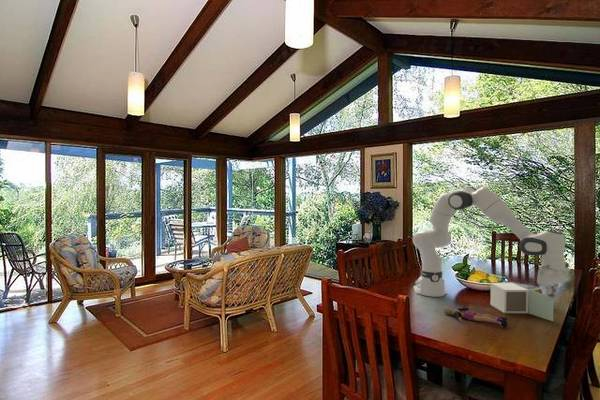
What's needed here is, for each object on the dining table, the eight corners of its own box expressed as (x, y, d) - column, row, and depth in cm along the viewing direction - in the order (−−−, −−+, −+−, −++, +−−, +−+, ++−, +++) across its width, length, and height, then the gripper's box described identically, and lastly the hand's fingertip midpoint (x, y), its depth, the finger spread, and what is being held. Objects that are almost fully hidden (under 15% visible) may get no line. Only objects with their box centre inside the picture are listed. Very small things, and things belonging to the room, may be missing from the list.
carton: (490, 304, 192) (490, 283, 191) (512, 304, 191) (512, 283, 191) (504, 313, 178) (504, 289, 178) (528, 313, 178) (528, 290, 178)
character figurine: (509, 322, 168) (448, 308, 186) (509, 313, 168) (449, 300, 185) (502, 336, 152) (436, 319, 170) (502, 326, 152) (437, 310, 169)
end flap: (551, 321, 166) (552, 286, 165) (526, 313, 177) (527, 280, 177) (555, 321, 166) (555, 286, 166) (529, 312, 178) (530, 280, 178)
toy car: (499, 294, 211) (499, 278, 211) (544, 305, 190) (544, 287, 190) (489, 297, 206) (489, 280, 206) (534, 309, 185) (535, 290, 185)
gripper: (548, 267, 159) (547, 297, 160) (571, 263, 169) (570, 291, 169) (533, 264, 165) (532, 293, 165) (556, 261, 174) (555, 288, 175)
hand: (551, 292), depth 167 cm, fingers open, 3 cm apart
